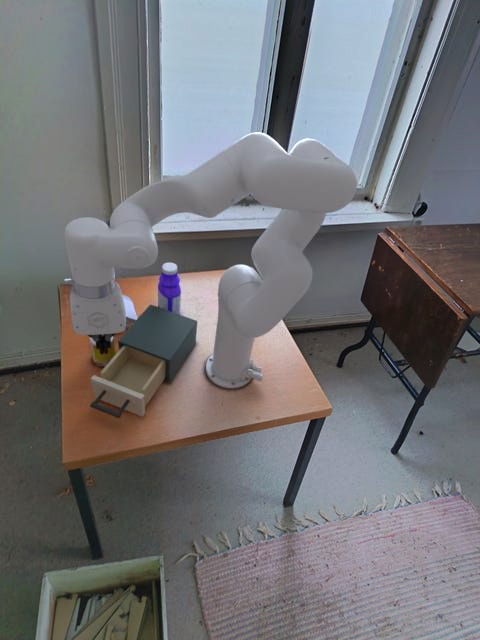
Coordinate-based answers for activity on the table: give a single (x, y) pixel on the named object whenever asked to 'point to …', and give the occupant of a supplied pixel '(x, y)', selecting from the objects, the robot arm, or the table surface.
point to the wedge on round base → (129, 310)
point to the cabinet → (162, 337)
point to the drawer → (128, 381)
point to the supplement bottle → (102, 358)
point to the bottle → (169, 289)
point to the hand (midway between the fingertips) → (104, 349)
